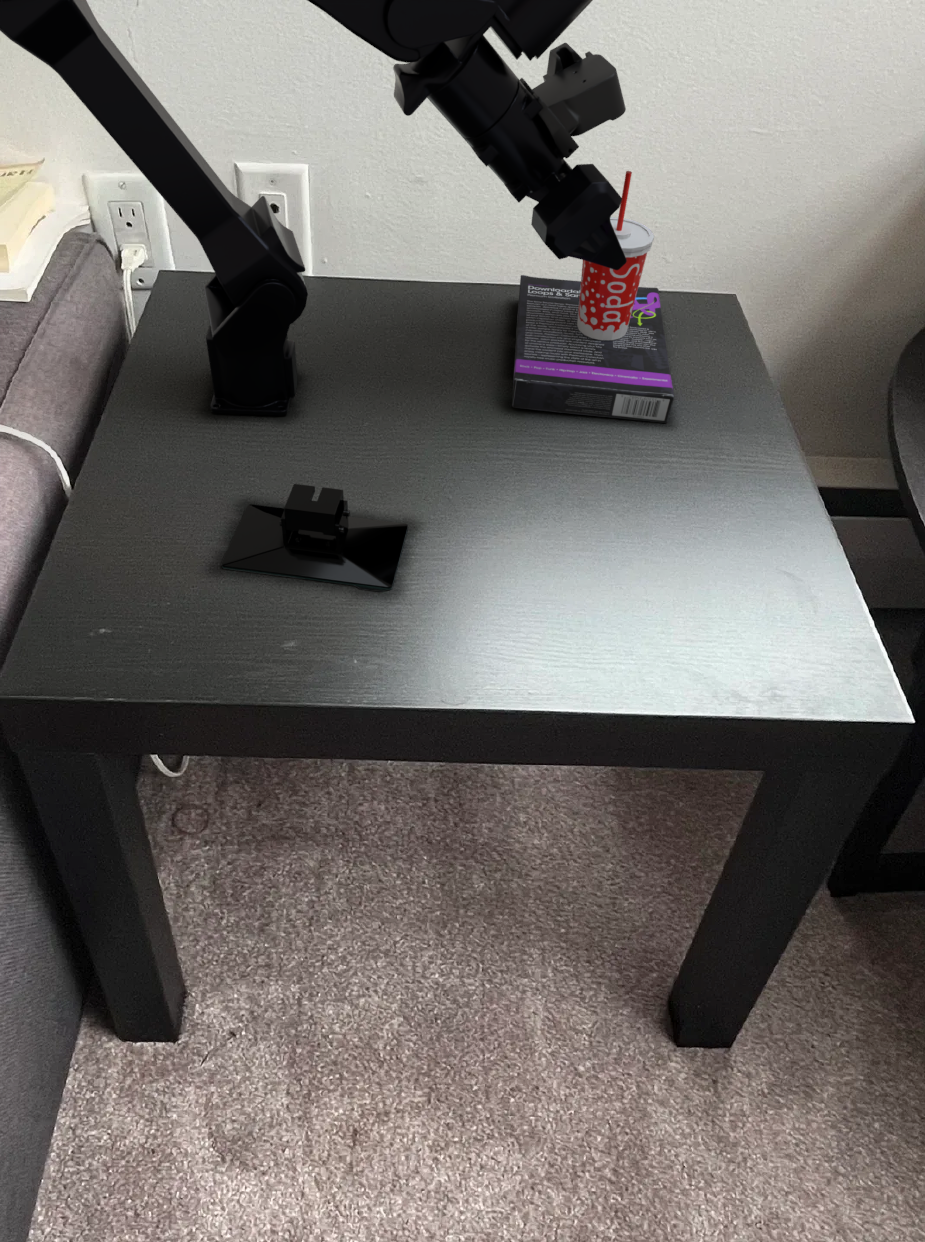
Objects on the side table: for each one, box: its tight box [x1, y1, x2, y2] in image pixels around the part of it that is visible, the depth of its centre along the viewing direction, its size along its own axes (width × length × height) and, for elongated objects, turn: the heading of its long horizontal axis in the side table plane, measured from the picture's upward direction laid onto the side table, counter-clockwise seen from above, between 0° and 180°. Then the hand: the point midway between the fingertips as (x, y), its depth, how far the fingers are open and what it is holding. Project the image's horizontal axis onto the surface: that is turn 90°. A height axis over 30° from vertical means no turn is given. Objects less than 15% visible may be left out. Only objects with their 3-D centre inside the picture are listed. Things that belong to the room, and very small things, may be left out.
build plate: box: [221, 483, 409, 593], centre depth 71 cm, size 12×7×5 cm, turn 82°
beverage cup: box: [577, 170, 655, 340], centre depth 85 cm, size 6×6×14 cm
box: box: [511, 274, 675, 424], centre depth 91 cm, size 14×4×20 cm
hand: (602, 240), depth 84 cm, fingers open, 9 cm apart
